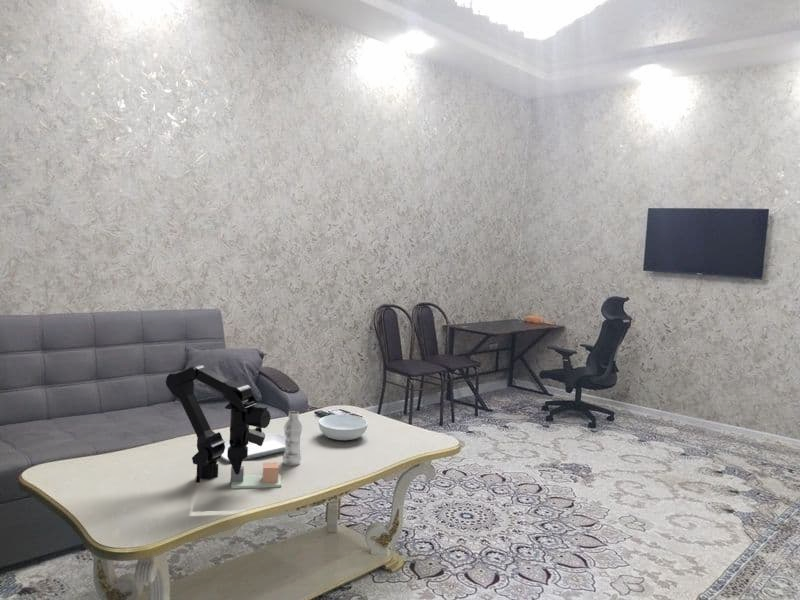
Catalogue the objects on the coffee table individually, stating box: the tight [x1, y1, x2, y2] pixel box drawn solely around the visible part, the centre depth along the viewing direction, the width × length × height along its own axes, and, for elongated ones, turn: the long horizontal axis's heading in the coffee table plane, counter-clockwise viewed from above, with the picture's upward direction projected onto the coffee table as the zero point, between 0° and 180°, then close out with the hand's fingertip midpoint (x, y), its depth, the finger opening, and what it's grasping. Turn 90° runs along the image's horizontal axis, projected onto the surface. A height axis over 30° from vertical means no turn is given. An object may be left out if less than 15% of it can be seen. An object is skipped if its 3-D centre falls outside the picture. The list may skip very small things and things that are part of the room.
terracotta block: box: [262, 461, 280, 483], centre depth 205 cm, size 5×5×5 cm
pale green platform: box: [230, 465, 282, 490], centre depth 204 cm, size 16×9×5 cm, turn 103°
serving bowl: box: [318, 414, 369, 441], centre depth 259 cm, size 21×21×7 cm
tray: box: [220, 432, 285, 463], centre depth 235 cm, size 17×31×4 cm, turn 133°
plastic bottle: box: [282, 410, 303, 467], centre depth 222 cm, size 6×7×20 cm
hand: (237, 469), depth 202 cm, fingers open, 9 cm apart
